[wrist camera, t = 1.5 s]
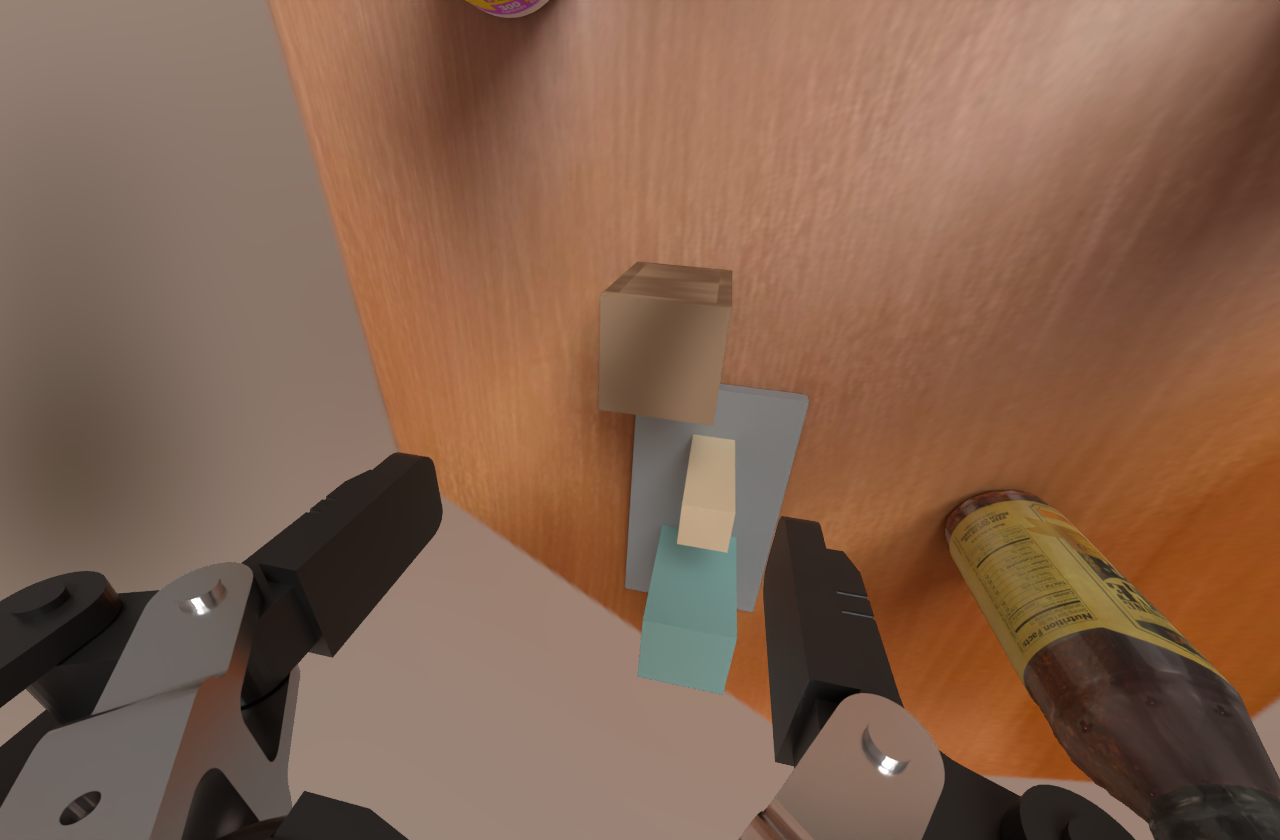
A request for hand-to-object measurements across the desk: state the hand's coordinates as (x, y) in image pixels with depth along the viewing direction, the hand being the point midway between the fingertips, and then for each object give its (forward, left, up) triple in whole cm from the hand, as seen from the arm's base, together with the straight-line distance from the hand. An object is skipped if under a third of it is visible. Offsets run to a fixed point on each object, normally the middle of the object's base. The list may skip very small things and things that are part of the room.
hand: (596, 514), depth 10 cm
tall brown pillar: (0, 0, -18) cm, 18 cm away
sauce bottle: (-21, +11, -18) cm, 30 cm away
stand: (-3, +13, -18) cm, 22 cm away
